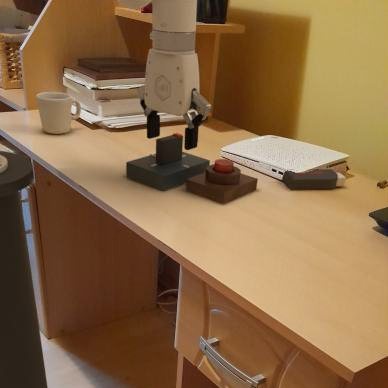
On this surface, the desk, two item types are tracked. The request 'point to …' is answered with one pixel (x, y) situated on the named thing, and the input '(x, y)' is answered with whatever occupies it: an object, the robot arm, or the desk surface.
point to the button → (223, 166)
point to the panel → (165, 170)
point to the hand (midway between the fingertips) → (171, 142)
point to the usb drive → (313, 180)
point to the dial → (169, 148)
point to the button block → (221, 184)
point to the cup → (56, 111)
